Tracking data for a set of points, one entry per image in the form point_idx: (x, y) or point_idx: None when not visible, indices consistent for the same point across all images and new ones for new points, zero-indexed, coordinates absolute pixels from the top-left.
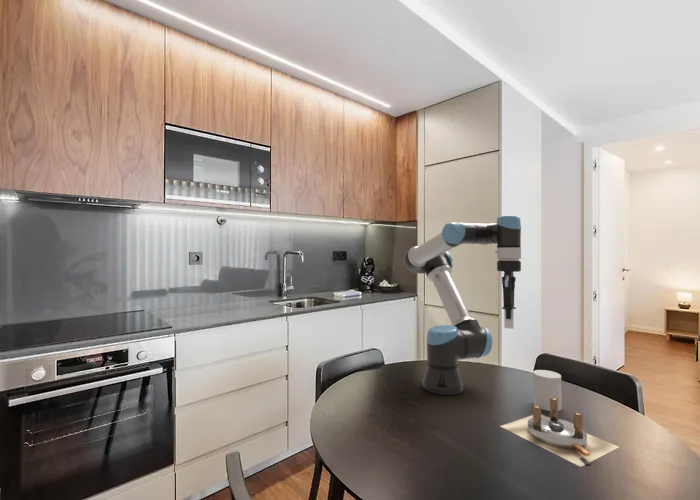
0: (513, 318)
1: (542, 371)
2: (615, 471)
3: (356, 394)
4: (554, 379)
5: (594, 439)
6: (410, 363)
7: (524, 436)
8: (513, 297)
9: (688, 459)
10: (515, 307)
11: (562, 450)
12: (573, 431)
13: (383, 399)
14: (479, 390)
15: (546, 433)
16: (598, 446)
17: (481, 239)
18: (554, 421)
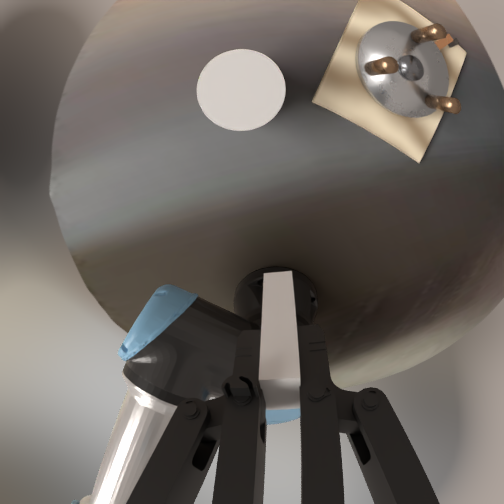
0: (262, 318)
1: (221, 106)
2: (427, 7)
3: (375, 361)
4: (274, 63)
5: (369, 10)
6: None
7: (433, 121)
8: (178, 474)
9: None
10: (243, 386)
11: None
12: (400, 40)
13: (378, 336)
14: (235, 242)
15: (437, 87)
16: (393, 10)
17: None
18: (403, 69)
